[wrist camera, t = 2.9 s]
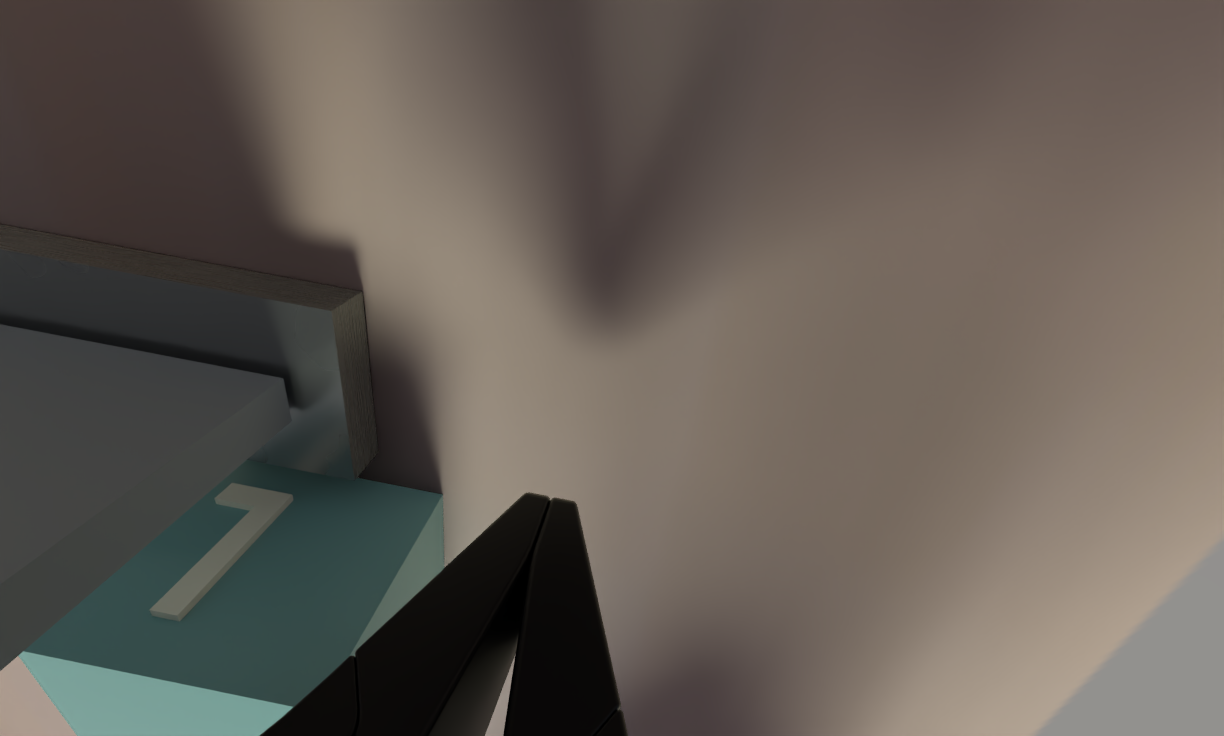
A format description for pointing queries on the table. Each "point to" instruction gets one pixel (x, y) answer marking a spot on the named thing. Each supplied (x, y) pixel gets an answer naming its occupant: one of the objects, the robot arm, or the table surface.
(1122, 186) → the table surface
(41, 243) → the rail
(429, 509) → the cube
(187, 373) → the screen
